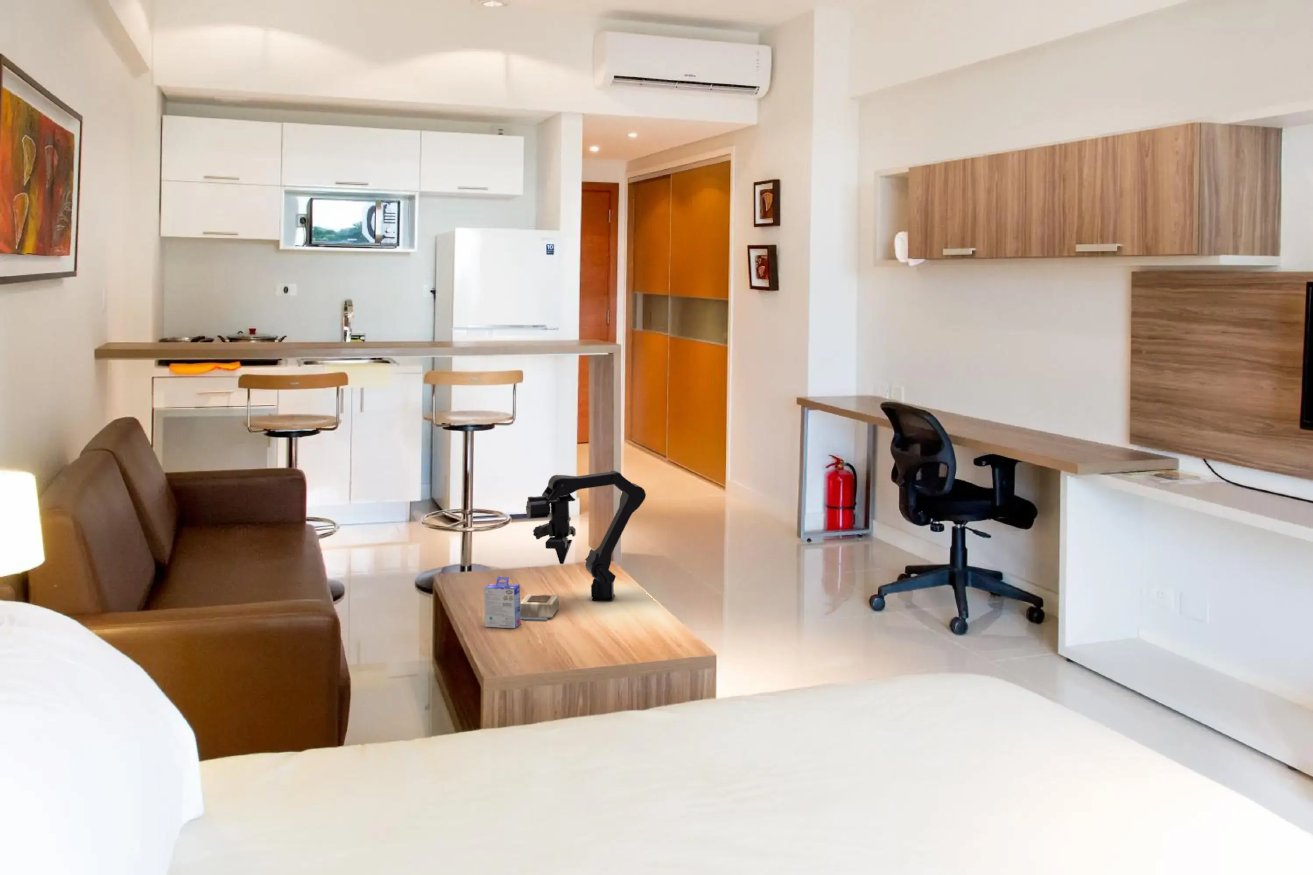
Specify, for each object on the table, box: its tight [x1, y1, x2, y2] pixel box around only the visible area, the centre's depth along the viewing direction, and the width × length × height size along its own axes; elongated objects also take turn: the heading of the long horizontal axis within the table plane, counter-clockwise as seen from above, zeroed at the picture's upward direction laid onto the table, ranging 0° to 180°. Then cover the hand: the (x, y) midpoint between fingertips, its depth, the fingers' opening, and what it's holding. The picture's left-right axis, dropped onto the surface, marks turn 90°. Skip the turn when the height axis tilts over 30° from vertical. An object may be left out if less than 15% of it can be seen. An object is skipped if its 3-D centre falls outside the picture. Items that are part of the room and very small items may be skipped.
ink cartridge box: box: [483, 576, 522, 629], centre depth 348 cm, size 10×6×14 cm, turn 78°
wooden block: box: [520, 594, 560, 618], centre depth 360 cm, size 4×10×10 cm
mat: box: [521, 617, 550, 622], centre depth 360 cm, size 11×14×1 cm
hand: (561, 563), depth 369 cm, fingers closed
